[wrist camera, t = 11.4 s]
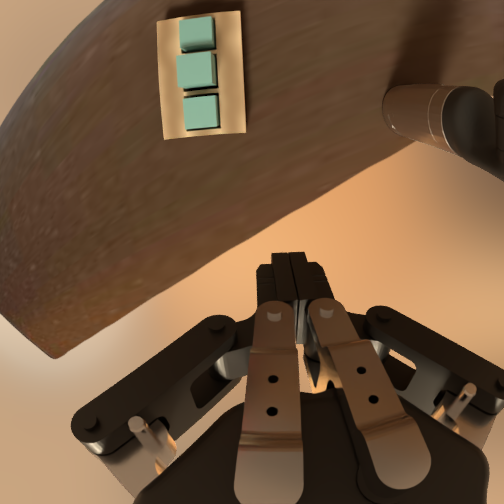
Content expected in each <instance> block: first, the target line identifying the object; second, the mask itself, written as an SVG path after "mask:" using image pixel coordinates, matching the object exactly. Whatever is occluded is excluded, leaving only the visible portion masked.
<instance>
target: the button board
mask: <svg viewBox="0 0 504 504" xmlns="http://www.w3.org/2000/svg"><path fill="white" fill-rule="evenodd" d="M208 16H211V17H212V19H213V21H214V23H215V24H216V48H217V50H208V51H211V53H212V54H213V55H214V56H215V58H217V68H218V87H219V88H217V89H206V90H197V91H189V89H185V88H180V87H178V82H177V64H176V56H178V55H185V54H192V53H200V52H208V51H199V52H191V53H186V52H185V51H183V50H182V49H181V48H180V40H179V20H186V19H192V18H200V17H208ZM157 50H158V69H159V70H158V72H159V88H160V100H161V114H162V125H163V134H164V140H166V139H174V138H182V137H191V136H202V135H213V134H227V133H245V132H246V113H245V92H244V72H243V51H242V30H241V15H240V11H229V12H217V13H208V14H199V15H192V16H185V17H179V18H174V19H168V20H163V21H158V22H157ZM208 94H219V105H220V121H221V127H210V128H199V129H186V130H185V123H184V111H183V99H186V98H189V97H190V96H199V95H208Z"/></svg>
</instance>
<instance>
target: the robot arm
mask: <svg viewBox="0 0 504 504" xmlns="http://www.w3.org/2000/svg"><path fill="white" fill-rule="evenodd" d="M382 110H383V116H384V119H385V121H386V123H387V125H388V126H389V128H390V129H391V130H392V131H394V132H395V133H396V134H398V135H401V136H404V137H407V138H410V139H413V140H416V141H419V142H422V143H425V144H428V145H431V146H434V147H436V148H439V149H442V150H444V151H447V152H450V153H452V154H455V155H458V156H460V157H463V158H464V159H465V160H466V161H468V162H470V163H471V164H473V165H475V166H478V167H480V168H481V169H483V170H485V171H487V172H489V173H491V174H492V175H494V176H495V177H497V178H499V179H500V180H502V181H504V79H502V80H500V81H498V82H497V83H496V84H495V86H494V93H493V98H492V97H491V96H490V95H489V94H488V93H487V92H485V91H483V90H481V89H479V88H476V87H468V86H445V85H444V84H411V85H399V86H395V87H393V88H392V89H390V90H389V91H388V92H387V94H386V95H385V97H384V100H383V107H382ZM256 279H257V310H256V312H255V313H254V314H253V315H252V316H251V317H250V318H248V319H246V320H243V321H239V322H235V321H234V320H233V319H232V318H230V317H228V316H225V315H213V316H210V317H207V318H205V319H204V320H202V321H201V322H200V323H198V324H197V325H196V326H194V327H193V328H192V329H190V330H189V331H188V332H186V333H185V334H183V335H182V336H181V337H179V338H178V339H177V340H175V341H174V342H173V343H171V344H170V345H169V346H167V347H166V348H164V349H163V350H162V351H161V352H159V353H158V354H156V355H155V356H154V357H152V358H151V359H149V360H148V361H147V362H145V363H144V364H143V365H141V366H140V367H138V368H137V369H136V370H134V371H133V372H131V373H130V374H129V375H127V376H126V377H125V378H123V379H122V380H120V381H119V382H117V383H116V384H115V385H114V386H112V387H110V388H109V389H108V390H106V391H105V392H103V393H102V394H100V395H99V396H98V397H96V398H95V399H93V400H92V401H90V402H89V403H88V404H86V405H85V406H83V407H82V408H80V409H79V410H78V411H77V412H76V413H75V414H74V416H73V418H72V421H71V430H72V433H73V434H74V436H75V437H76V438H77V439H78V440H79V441H80V442H81V443H82V444H83V445H84V446H85V447H86V448H87V450H88V451H89V452H91V453H92V454H93V455H94V456H95V457H96V458H98V459H99V460H100V461H101V462H102V463H103V464H105V465H106V467H107V468H108V469H109V470H110V471H111V473H112V474H113V475H114V476H115V477H116V478H117V480H118V481H119V482H120V483H121V484H122V485H123V486H124V487H125V489H126V490H128V492H129V493H130V494H131V495H132V496H133V497H134V498H135V500H134V503H133V504H487V502H486V501H487V500H486V499H487V488H488V482H489V464H488V461H487V458H486V456H485V455H484V453H483V452H482V448H483V446H484V444H485V442H486V440H487V437H488V435H489V433H490V430H491V428H492V425H493V423H494V420H495V418H496V416H497V414H498V413H499V412H500V411H501V410H502V409H503V408H504V370H503V369H501V368H500V367H498V366H496V365H494V364H492V363H491V362H489V361H487V360H485V359H484V358H482V357H480V356H478V355H476V354H475V353H473V352H471V351H469V350H467V349H466V348H464V347H462V346H460V345H458V344H457V343H455V342H453V341H451V340H449V339H447V338H445V337H444V336H442V335H440V334H438V333H436V332H435V331H433V330H431V329H429V328H427V327H425V326H423V325H422V324H420V323H418V322H416V321H414V320H412V319H411V318H409V317H407V316H405V315H403V314H401V313H399V312H398V311H396V310H394V309H392V308H390V307H387V306H374V307H371V308H370V309H369V310H368V311H367V312H366V315H361V314H354V313H350V312H347V311H346V310H345V308H344V307H343V305H342V304H341V303H340V302H338V301H337V300H335V299H334V296H333V293H332V291H331V288H330V285H329V283H328V281H327V277H326V276H325V272H324V270H323V268H322V267H321V266H320V265H319V264H318V263H317V262H307V258H306V255H305V252H289V253H272V255H271V264H261V265H260V266H259V267H258V269H257V270H256ZM295 338H296V343H295ZM296 344H303V346H304V354H303V360H304V364H305V367H306V371H307V375H308V378H309V382H310V385H311V389H312V393H305V392H300V386H299V385H300V384H299V366H298V365H299V364H298V350H297V349H296ZM390 349H392V350H394V351H395V352H397V353H399V354H400V355H402V356H404V357H406V358H407V359H409V360H411V361H412V362H413V363H414V364H415V366H416V370H415V369H413V368H411V367H409V366H408V365H406V364H404V363H402V362H401V361H399V360H398V359H396V358H394V357H392V356H391V355H389V352H390ZM246 375H247V385H246V394H245V402H243V403H240V404H238V405H236V406H234V407H232V408H231V409H230V410H228V411H227V412H225V413H224V414H223V415H222V416H220V417H219V418H218V420H216V421H215V422H214V423H213V424H212V425H211V426H210V427H209V428H208V429H207V431H205V432H204V433H203V434H202V435H201V436H200V437H199V438H198V439H197V440H196V441H195V442H194V443H193V444H192V445H191V446H190V447H189V448H188V449H187V450H186V451H185V452H184V453H183V454H182V455H181V456H179V457H178V458H177V459H176V460H175V461H174V462H173V463H172V464H171V465H170V466H169V467H167V466H168V465H169V463H170V462H171V461H172V460H173V459H174V457H175V455H176V444H175V442H174V441H175V440H177V439H178V438H179V437H180V436H181V435H182V434H183V433H185V432H186V431H187V430H188V429H189V428H190V427H191V426H193V425H194V424H195V423H196V422H197V421H198V420H199V419H201V418H202V417H203V416H204V415H205V414H206V413H207V412H208V411H209V410H210V409H212V408H213V407H214V406H215V405H216V404H217V403H218V402H219V401H220V400H221V399H222V398H223V397H224V396H225V395H227V393H229V392H230V391H231V390H232V389H233V388H234V387H235V386H236V385H237V384H238V383H239V382H240V380H241V378H242V377H243V376H246Z"/></svg>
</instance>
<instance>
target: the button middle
mask: <svg viewBox="0 0 504 504" xmlns="http://www.w3.org/2000/svg"><path fill="white" fill-rule="evenodd" d="M176 64H177V82H178V87H180V88H185V89H191V88H200V87H210V86H217V70H216V58H215V56H214V55H213V54H212V53H211V51H208V52H200V53H192V54H185V55H178V56H176Z"/></svg>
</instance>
